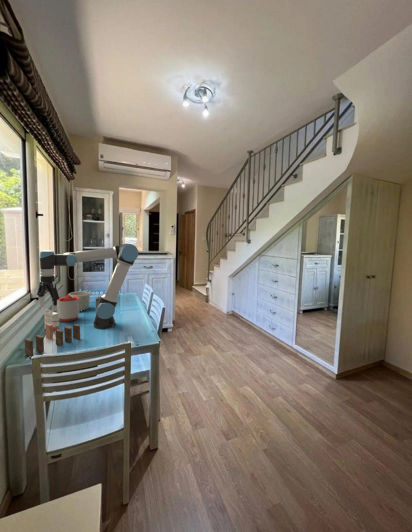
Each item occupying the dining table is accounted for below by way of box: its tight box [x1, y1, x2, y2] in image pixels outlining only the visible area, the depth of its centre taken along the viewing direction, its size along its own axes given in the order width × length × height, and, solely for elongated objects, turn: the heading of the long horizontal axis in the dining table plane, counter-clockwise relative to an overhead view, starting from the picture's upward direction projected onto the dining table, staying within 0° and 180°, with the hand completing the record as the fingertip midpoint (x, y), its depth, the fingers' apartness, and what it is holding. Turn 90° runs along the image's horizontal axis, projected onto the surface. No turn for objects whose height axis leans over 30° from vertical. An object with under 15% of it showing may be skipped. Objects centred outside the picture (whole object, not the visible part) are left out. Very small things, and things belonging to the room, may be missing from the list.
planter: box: [67, 290, 91, 312], centre depth 215 cm, size 17×17×15 cm
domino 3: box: [45, 323, 54, 340], centre depth 156 cm, size 2×5×9 cm, turn 62°
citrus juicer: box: [56, 294, 80, 322], centre depth 191 cm, size 16×17×20 cm
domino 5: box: [63, 326, 73, 344], centre depth 152 cm, size 2×5×9 cm, turn 62°
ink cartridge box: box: [43, 308, 60, 332], centre depth 170 cm, size 9×5×15 cm, turn 69°
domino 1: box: [24, 338, 34, 357], centre depth 133 cm, size 2×5×9 cm, turn 62°
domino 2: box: [35, 334, 45, 354], centre depth 138 cm, size 2×5×9 cm, turn 62°
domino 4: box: [54, 328, 64, 347], centre depth 147 cm, size 2×5×9 cm, turn 62°
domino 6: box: [72, 323, 81, 340], centre depth 157 cm, size 2×5×9 cm, turn 62°
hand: (48, 308), depth 154 cm, fingers open, 13 cm apart
